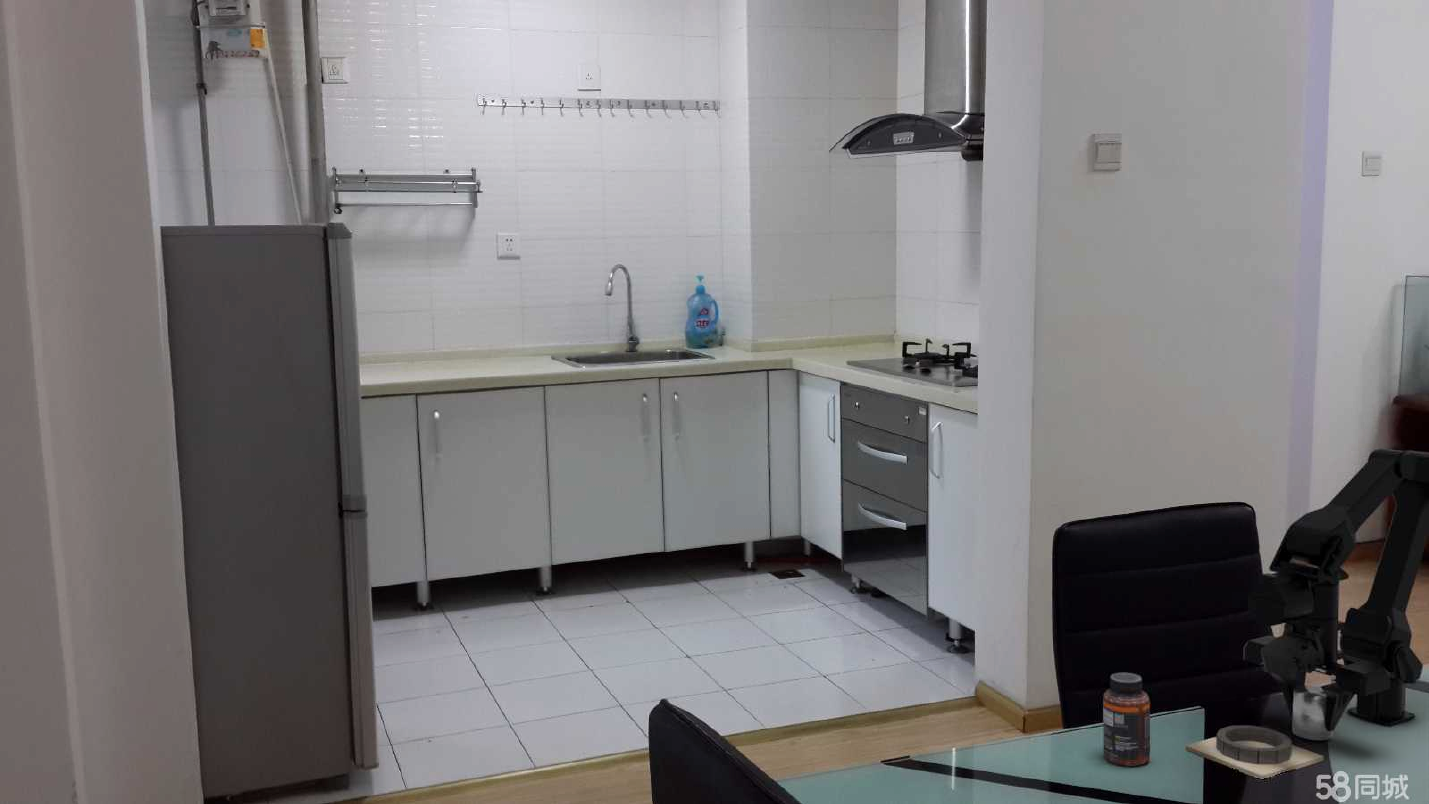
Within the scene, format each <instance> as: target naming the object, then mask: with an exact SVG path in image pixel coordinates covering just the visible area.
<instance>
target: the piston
mask: <svg viewBox="0 0 1429 804" xmlns="http://www.w3.org/2000/svg"><path fill="white" fill-rule="evenodd" d="M1333 732H1334V730H1333V731H1327V729H1326V694H1325V693H1324V691H1323V690H1322V688H1321V686H1319V685H1311V684H1309V685H1307V684H1305V685H1301V686H1296V687H1294V688H1293V719H1292V733H1293V735H1295V736H1297V737H1299V738H1302V739H1305V740H1312V741H1327V740H1330V739H1332V738H1333V736H1334V735H1333Z"/></svg>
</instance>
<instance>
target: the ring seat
mask: <svg viewBox="0 0 1429 804" xmlns="http://www.w3.org/2000/svg"><path fill="white" fill-rule="evenodd" d="M1185 751H1188V752H1191V753H1193V754H1195V755H1198V756H1200V757H1203V758H1205V759H1207V760H1211V762H1212V761H1213V762H1215V763H1217V762H1218V763H1217V764H1220V763H1221V764H1220V765H1222V764H1223V766H1225V765H1226V766H1225V767H1227V766H1228V768H1230V769H1232V768H1233V770H1235V769H1237V770H1239V771H1238V772H1241V773H1242V772H1243V773H1242V774H1245V775H1246V776H1247V775H1248V776H1250V777H1252V776H1253V778H1255V779H1257V778H1260V779H1264V778H1268V779H1270V778H1269V777H1271V778H1274V777H1276V776H1275V775H1277V774H1280V773H1281V772H1285V771H1289V770H1293V769H1296V770H1298V769H1302V768H1304V767H1308V766H1311V765H1313V764H1318V763H1320V762H1323V761H1324V756H1323V755H1321V754H1318V753H1316V752H1313V751H1310V750H1309V749H1305V748H1302V747H1299V746H1297V745H1294V744H1293V741H1292V739H1291V738H1290V737H1288V736H1287V735H1286V734H1285V733H1283V732H1280V731H1277V730H1275V729H1272V728H1268V727H1262V726H1256V725H1229V726H1226V727H1223V728H1220V729H1219V730H1218V731H1217V733H1216V736H1215V737H1211V738H1208V739H1203V740H1199V741H1196V742H1193V743H1191V744H1187V745H1185ZM1237 770H1236V771H1237ZM1293 771H1294V770H1293ZM1280 775H1281V774H1280ZM1273 776H1274V777H1273ZM1277 776H1278V775H1277ZM1260 779H1259V780H1260Z"/></svg>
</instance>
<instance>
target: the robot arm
mask: <svg viewBox="0 0 1429 804" xmlns="http://www.w3.org/2000/svg"><path fill="white" fill-rule="evenodd" d="M1390 495H1392V498H1393V501H1394V504H1395V509H1394V513H1393V516H1392V519H1391V522H1390V526H1389V529H1388V532H1387V534H1386V535H1387V536H1386V538H1385V541H1384V544H1383V545H1384V546H1383V549H1382V552H1381V556H1380V558H1379V562H1378V565H1377V569H1376V572H1375V573H1374V574H1375V575H1374V577H1373V581H1372V583H1371V589H1370V591H1369V595H1368V598H1367V599H1366V601H1365V602H1364V603H1363V604H1362V605H1360V606H1359V607H1358V608H1355V607H1352V606H1351V607H1349V608H1348V610H1347V612H1346V614H1345V619H1344V621H1341V620H1339V611H1340V610H1339V607H1340V606H1339V605H1340V581H1345V580H1348V579H1349V577H1350V575H1349V573H1348V572H1347V571H1346V570H1345V569H1343V568H1342V566H1343V565H1344V564H1345V563H1346V561H1347V560H1348V558H1349V557H1350V555H1351V554H1352V552H1353V551H1354V549H1355V548H1356V547H1357V537H1356V534H1357V532H1358V530H1359V529H1360V528H1361V527H1362V525H1363V524H1364V523H1365V522H1366V521H1367V520H1368V519H1369V518H1370V517H1371V516H1372V515H1373V514H1374V512H1376V510H1377V509H1378V508H1380V506H1381V505H1382V504H1383V502H1384V501H1385V500H1386V499H1387V498H1388V497H1389V496H1390ZM1428 539H1429V452H1425V451H1417V450H1416V451H1415V450H1405V451H1404V450H1397V449H1390V448H1389V449H1388V448H1378V449H1374V450H1373V451H1371V452H1370V453H1369V455H1368V459H1367V462H1366V463H1365V464H1364V465H1363V466H1362V467H1361V468H1360V469H1359V471H1358V472H1356V473H1355V475H1354V476H1353V477H1352V478H1351V479H1350V480H1349V481H1348V482H1347V483H1346V484H1345V486H1343V487H1342V489H1341V490H1339V492H1338V493H1337V494H1336V495H1335V496H1334V497H1333V498H1332V499H1331V500H1330V501H1329V503H1327V504H1326V505H1325V506H1323V507H1321V508H1318V509H1315V510H1313V511H1309V512H1306V513H1304V514H1303V515H1302V516H1300V518H1298V519H1297V520H1295V521H1294V522H1292V524H1290V525H1289V527H1288V528H1287V530H1286V533H1285V534H1284V536H1283V538H1282V541H1281V542H1280V545H1279V547H1278V548H1277V550H1276V553H1275V555H1274V556H1273V559H1272V561H1271V563H1270V565H1269V567H1268V571H1270V572H1274V573H1269V572H1268V573H1262V574H1261V576H1260V583H1258V584H1256V585H1254V586H1253V587H1252V588H1251V590H1250V591H1249V594H1248V595H1247V599H1246V602H1247V608H1248V611H1249V612H1250V615H1251V617H1253V619H1254V620H1255V621H1256V622H1257V623H1259V624H1261V625H1262V626H1265V627H1275V626H1278V625H1283V624H1284V626H1283V627H1284V628H1283V632H1282V635H1280V636H1272V635H1265V636H1262V637H1257V638H1253V639H1249V640H1248V641H1247V642H1246V643H1245V645H1244V647H1243V660H1244V661H1246V662H1249V663H1252V664H1256V665H1259V666H1261V665H1263V667H1262V670H1263V671H1264V672H1266V673H1267V674H1270V676H1272V677H1273V678H1274V679H1275V680H1276V681H1277V683H1278V685H1279V687H1280V689H1281V692H1282V695H1283V697H1284V700H1285V702H1286V703H1285V704H1286V706H1287V709H1288V712H1289V714H1290V717H1291V719H1292V720H1293V688H1294V687H1296V686H1301V685H1306V679H1307V678H1306V677H1307V674H1312V673H1313V672H1316V673H1319V674H1322V675H1326V676H1329V677H1330V678H1331V679H1330V683H1328V684H1325V685H1320V687H1321V688H1322V690H1323V691H1324V693H1325V694H1326V729H1327V731H1333V732H1334V730H1335V729H1336V727H1337V725H1338V723H1339V722H1340V720H1341V718H1342V717H1343V714H1344V713H1345V711H1346V713H1347V714H1349V715H1353V716H1355V717H1359V718H1362V719H1365V720H1368V721H1371V722H1373V723H1377V724H1380V725H1382V726H1383V725H1384V726H1385V727H1386V726H1389V727H1390V726H1393V725H1397V724H1399V723H1402V722H1406V721H1409V720H1411V719H1416V714H1415V713H1413V712H1411V711H1410V712H1409V711H1406V708H1405V707H1406V687H1407V685H1406V684H1412V685H1414V684H1416V683H1417V680H1420V678H1421V674H1422V671H1423V667H1424V665H1423V664H1424V663H1422V661H1421V660H1420V659H1419V657H1418V656H1417V655H1416V654H1415V653H1414V651H1413V649H1412V648H1411V643H1412V637H1413V633H1412V630H1411V627H1410V625H1409V621H1408V618H1407V614H1406V612H1407V608H1408V604H1409V601H1410V598H1411V594H1412V592H1413V589H1414V585H1415V581H1416V579H1417V578H1416V577H1417V575H1418V571H1419V569H1420V565H1421V561H1422V558H1423V555H1424V551H1425V548H1426V544H1427V541H1428ZM1292 561H1293V562H1292ZM1304 564H1305V565H1304ZM1314 566H1315V567H1314ZM1339 634H1340V636H1339ZM1338 645H1339V648H1340V650H1339V649H1338ZM1339 660H1343V664H1342V663H1339V662H1338V661H1339ZM1355 695H1356V706H1353V707H1350V708H1348V709H1347V707H1348V706H1349V704H1350V702H1351V701H1352V700H1353V698H1354V697H1355ZM1346 709H1347V710H1346Z"/></svg>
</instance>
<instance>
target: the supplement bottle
mask: <svg viewBox="0 0 1429 804" xmlns="http://www.w3.org/2000/svg"><path fill="white" fill-rule="evenodd" d="M1109 686H1110V688H1109V689H1107V690H1106V691H1105V692H1104V693H1103V699H1102V701H1103V702H1102V703H1103V704H1102V707H1103V708H1102V711H1103V712H1102V719H1103V721H1102V722H1103V725H1102V727H1103V729H1102V730H1103V742H1102V743H1103V755H1104V758H1105V759H1106V760H1108V761H1109V762H1110V763H1112V764H1116V765H1120V766H1125V767H1136V766H1142V765H1145V764H1147V763H1148V761H1149V760H1150V758H1151V709H1150V708H1151V701H1150V697H1149V695H1148V694H1147V692H1145V691H1144V690H1143V689H1142V688H1143V679H1142V676H1141V675H1139V674H1137V673H1132V672H1116V673H1112V674H1111V675H1110V684H1109Z"/></svg>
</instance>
